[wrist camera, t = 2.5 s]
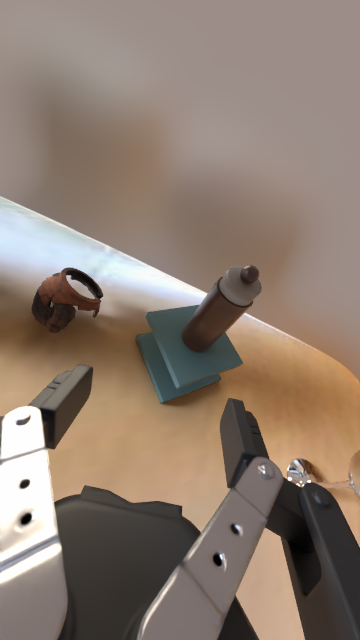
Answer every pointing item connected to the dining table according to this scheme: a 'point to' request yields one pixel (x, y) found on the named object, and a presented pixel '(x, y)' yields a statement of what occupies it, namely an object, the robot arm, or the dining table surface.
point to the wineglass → (306, 472)
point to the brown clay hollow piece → (64, 299)
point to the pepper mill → (222, 307)
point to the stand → (181, 355)
